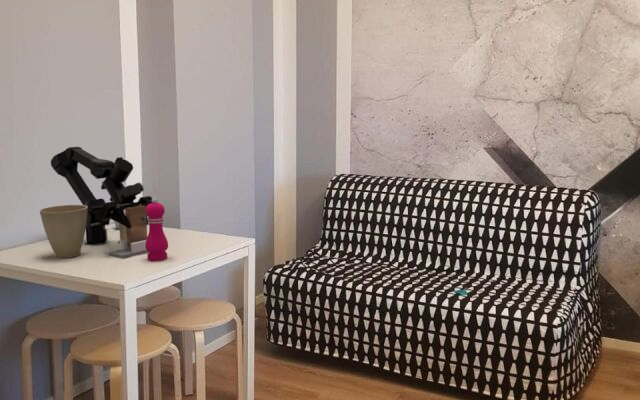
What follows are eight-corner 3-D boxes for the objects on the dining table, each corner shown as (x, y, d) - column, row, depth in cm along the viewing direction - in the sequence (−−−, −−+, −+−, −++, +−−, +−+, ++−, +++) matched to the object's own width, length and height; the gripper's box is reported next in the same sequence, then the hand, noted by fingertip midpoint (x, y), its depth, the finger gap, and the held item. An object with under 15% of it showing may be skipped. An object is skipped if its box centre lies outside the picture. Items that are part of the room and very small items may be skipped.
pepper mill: (157, 262, 217) (154, 200, 214) (141, 259, 221) (137, 198, 218) (173, 257, 223) (170, 197, 220) (157, 255, 227) (154, 195, 224)
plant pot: (93, 249, 237) (90, 203, 235) (87, 259, 223) (83, 211, 220) (48, 251, 235) (45, 205, 232) (38, 261, 220) (34, 213, 218)
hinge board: (108, 255, 228) (107, 243, 227) (151, 245, 242) (151, 234, 241) (123, 258, 223) (122, 246, 222) (166, 248, 237) (166, 237, 236)
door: (127, 246, 230) (125, 208, 228) (143, 242, 235) (141, 205, 233) (133, 247, 228) (131, 209, 226) (149, 243, 233) (147, 206, 231)
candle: (139, 240, 251) (137, 213, 249) (129, 243, 246) (127, 215, 244) (127, 239, 253) (125, 212, 251) (117, 242, 248) (115, 214, 246)
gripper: (102, 178, 224) (125, 215, 219) (149, 172, 238) (171, 207, 233) (90, 200, 230) (111, 236, 225) (136, 193, 244) (157, 227, 239)
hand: (139, 226), depth 230 cm, fingers closed on door, 6 cm apart
